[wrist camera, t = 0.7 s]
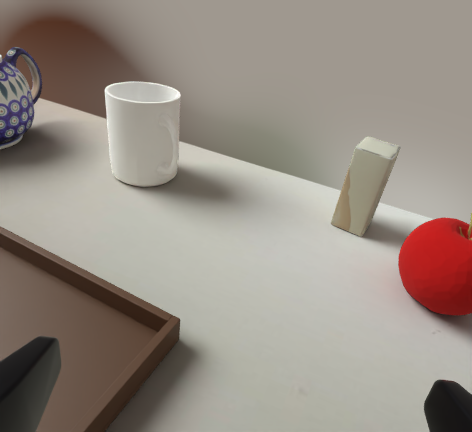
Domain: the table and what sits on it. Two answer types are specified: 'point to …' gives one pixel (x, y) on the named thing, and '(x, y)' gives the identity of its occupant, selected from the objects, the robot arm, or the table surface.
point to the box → (364, 184)
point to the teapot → (17, 97)
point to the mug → (143, 132)
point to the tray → (80, 333)
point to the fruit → (439, 265)
